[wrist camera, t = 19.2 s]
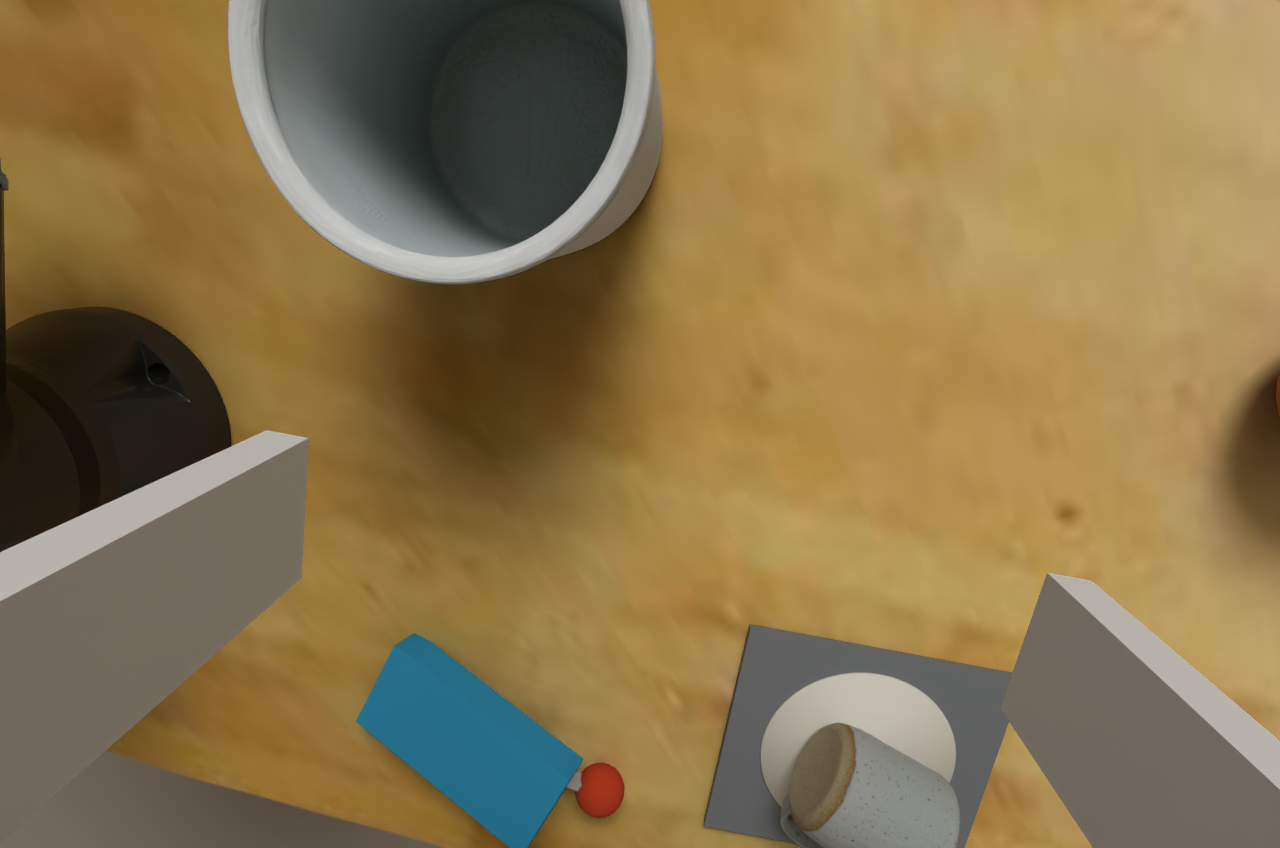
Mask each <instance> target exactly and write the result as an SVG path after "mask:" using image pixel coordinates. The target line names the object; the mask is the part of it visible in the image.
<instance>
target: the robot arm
mask: <svg viewBox="0 0 1280 848" xmlns="http://www.w3.org/2000/svg"><path fill="white" fill-rule="evenodd" d="M5 190H8V179H7V177H6V175H5V174H4V173H3V172H2V171H1V160H0V843H1V842H2V841H3V840H5V839H6V838H7V837H8V836H9V835H10V834H11V833H13V832H14V831H15V830H16V829H17V828H18V827H19V826H21V825H22V824H23V823H24V822H25V821H26V820H27V819H28V818H30V817H31V816H32V815H33V814H34V813H35V812H36V811H38V810H39V809H40V808H41V807H42V806H43V805H44V804H46V803H47V801H49V800H50V799H51V798H52V797H53V796H55V795H56V794H57V793H58V792H59V791H60V790H61V789H63V788H64V787H65V786H66V785H67V784H68V783H69V782H70V781H72V780H73V779H74V778H75V777H76V776H77V775H78V774H80V773H81V772H82V771H83V770H84V769H85V768H86V767H88V766H89V765H90V764H91V763H92V762H93V761H94V760H95V759H97V758H98V757H99V756H100V755H101V754H102V753H103V752H105V751H106V750H107V749H108V748H109V747H110V746H111V745H113V744H114V743H115V742H116V741H117V740H118V739H119V738H120V737H122V736H123V735H124V734H125V733H126V732H127V731H128V730H130V729H131V728H132V727H133V726H134V725H135V724H136V723H137V722H139V721H140V720H141V719H142V718H143V717H144V716H145V715H147V714H148V713H149V712H150V711H151V710H152V709H153V708H155V707H156V706H157V705H158V704H159V703H160V702H161V701H162V700H164V699H165V698H166V697H167V696H168V695H169V694H170V693H172V692H173V691H174V690H175V689H176V688H177V687H178V686H179V685H181V684H182V683H183V682H184V681H185V680H186V679H187V678H189V677H190V676H191V675H192V674H193V673H194V672H195V671H197V670H198V669H199V668H200V667H201V666H202V665H203V664H204V663H206V662H207V661H208V660H209V659H210V658H211V657H212V656H214V655H215V654H216V653H217V652H218V651H219V650H220V649H221V648H223V647H224V646H225V645H226V644H227V643H228V642H229V641H231V640H232V639H233V638H234V637H235V636H236V635H237V634H239V633H240V632H241V631H242V630H243V629H244V628H245V627H246V626H248V625H249V624H250V623H251V622H252V621H253V620H254V619H256V618H257V617H258V616H259V615H260V614H261V613H262V612H263V611H265V610H266V609H267V608H268V607H269V606H270V605H271V604H273V603H274V602H275V601H276V600H277V599H278V598H279V597H281V596H282V595H283V594H284V593H285V592H286V591H287V590H288V589H290V588H291V587H292V586H293V585H294V584H295V583H296V582H298V581H299V580H300V579H301V578H302V561H303V541H304V522H305V502H306V482H307V463H308V443H309V438H306V437H300V436H295V435H289V434H284V433H278V432H273V431H267V430H266V431H264V432H262V433H260V434H258V435H255V436H253V437H251V438H249V439H247V440H244V441H242V442H240V443H238V444H236V445H233V446H231V447H230V432H229V424H228V418H227V414H226V410H225V407H224V404H223V401H222V399H221V396H220V394H219V391H218V389H217V387H216V385H215V383H214V381H213V380H212V378H211V376H210V375H209V373H208V372H207V370H206V369H205V367H204V366H203V365H202V363H201V362H200V361H199V359H198V358H197V357H196V356H195V355H194V354H193V353H192V351H191V350H190V349H189V348H188V347H187V346H186V345H184V344H183V343H182V342H181V341H180V340H179V339H178V338H176V337H175V336H174V335H173V334H171V333H170V332H168V331H167V330H166V329H164V328H162V327H161V326H159V325H157V324H156V323H154V322H152V321H150V320H148V319H146V318H143V317H141V316H139V315H136V314H133V313H130V312H127V311H123V310H118V309H113V308H106V307H84V308H75V309H67V310H58V311H52V312H47V313H43V314H40V315H37V316H34V317H31V318H28V319H26V320H24V321H22V322H20V323H18V324H16V325H14V326H13V327H11V328H9V329H8V330H6V322H5V253H4V191H5ZM1001 710H1002V711H1003V713H1004V714H1005V716H1006V717H1007V719H1008V720H1009V722H1010V723H1011V725H1012V726H1013V728H1014V729H1015V731H1016V732H1017V734H1018V735H1019V737H1020V738H1021V740H1022V741H1023V743H1024V744H1025V746H1026V747H1027V749H1028V750H1029V752H1030V753H1031V755H1032V756H1033V758H1034V759H1035V761H1036V763H1037V764H1038V766H1039V767H1040V769H1041V770H1042V772H1043V773H1044V775H1045V776H1046V778H1047V779H1048V781H1049V782H1050V784H1051V785H1052V787H1053V788H1054V790H1055V791H1056V793H1057V794H1058V796H1059V797H1060V799H1061V800H1062V802H1063V803H1064V805H1065V806H1066V808H1067V809H1068V811H1069V812H1070V814H1071V815H1072V817H1073V818H1074V820H1075V821H1076V823H1077V824H1078V826H1079V827H1080V829H1081V830H1082V832H1083V833H1084V835H1085V836H1086V838H1087V839H1088V841H1089V842H1090V844H1091V845H1092V847H1093V848H1280V741H1279V740H1278V739H1277V738H1276V737H1274V736H1273V735H1272V734H1271V733H1270V732H1268V731H1267V730H1266V729H1265V728H1264V727H1263V726H1261V725H1260V724H1259V723H1258V722H1257V721H1256V720H1254V719H1253V718H1252V717H1251V716H1250V715H1248V714H1247V713H1246V712H1245V711H1244V710H1243V709H1241V708H1240V707H1239V706H1238V705H1237V704H1236V703H1234V702H1233V701H1232V700H1231V699H1230V698H1229V697H1227V696H1226V695H1225V694H1224V693H1223V692H1221V691H1220V690H1219V689H1218V688H1217V687H1216V686H1214V685H1213V684H1212V683H1211V682H1210V681H1209V680H1207V679H1206V678H1205V677H1204V676H1203V675H1201V674H1200V673H1199V672H1198V671H1197V670H1196V669H1194V668H1193V667H1192V666H1191V665H1190V664H1189V663H1187V662H1186V661H1185V660H1184V659H1183V658H1182V657H1180V656H1179V655H1178V654H1177V653H1176V652H1174V651H1173V650H1172V649H1171V648H1170V647H1169V646H1167V645H1166V644H1165V643H1164V642H1163V641H1162V640H1160V639H1159V638H1158V637H1157V636H1156V635H1155V634H1153V633H1152V632H1151V631H1150V630H1149V629H1147V628H1146V627H1145V626H1144V625H1143V624H1142V623H1140V622H1139V621H1138V620H1137V619H1136V618H1135V617H1133V616H1132V615H1131V614H1130V613H1129V612H1127V611H1126V610H1125V609H1124V608H1123V607H1122V606H1120V605H1119V604H1118V603H1117V602H1116V601H1115V600H1113V599H1112V598H1111V597H1110V596H1109V595H1108V594H1106V593H1105V592H1104V591H1103V590H1102V589H1100V588H1099V587H1098V586H1097V585H1096V584H1095V583H1093V582H1092V581H1090V580H1084V579H1079V578H1073V577H1068V576H1063V575H1057V574H1052V573H1047V575H1046V578H1045V581H1044V584H1043V587H1042V590H1041V592H1040V595H1039V598H1038V601H1037V604H1036V607H1035V610H1034V613H1033V616H1032V618H1031V621H1030V624H1029V627H1028V630H1027V633H1026V636H1025V639H1024V641H1023V644H1022V647H1021V650H1020V653H1019V656H1018V659H1017V662H1016V665H1015V667H1014V670H1013V673H1012V676H1011V679H1010V682H1009V685H1008V688H1007V690H1006V693H1005V696H1004V699H1003V702H1002V705H1001Z"/></svg>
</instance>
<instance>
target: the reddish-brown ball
mask: <svg viewBox="0 0 1280 848" xmlns="http://www.w3.org/2000/svg"><path fill="white" fill-rule="evenodd" d="M1276 401H1277V408H1278V413H1279V417H1280V375H1279V377H1278V380H1277V386H1276Z"/></svg>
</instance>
